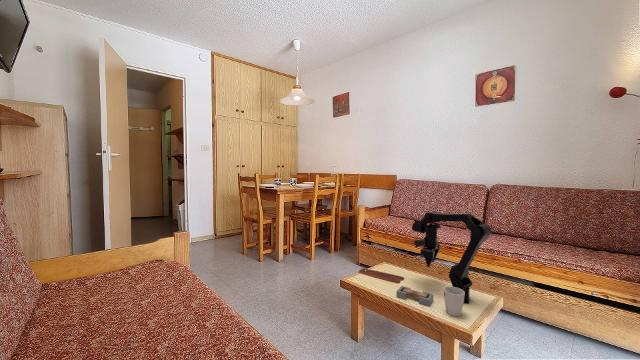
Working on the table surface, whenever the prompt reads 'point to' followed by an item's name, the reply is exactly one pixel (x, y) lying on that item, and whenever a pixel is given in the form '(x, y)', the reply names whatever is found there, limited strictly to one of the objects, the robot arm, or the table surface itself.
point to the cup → (453, 300)
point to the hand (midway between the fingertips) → (430, 264)
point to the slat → (414, 294)
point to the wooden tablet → (382, 275)
